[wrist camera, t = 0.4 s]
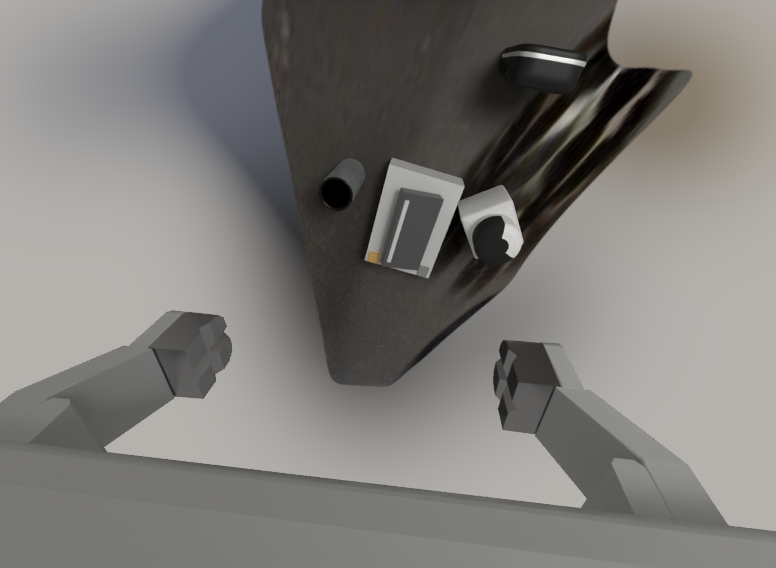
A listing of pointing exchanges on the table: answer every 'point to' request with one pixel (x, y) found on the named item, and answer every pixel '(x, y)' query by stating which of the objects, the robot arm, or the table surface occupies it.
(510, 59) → the battery charger
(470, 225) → the medicine bottle
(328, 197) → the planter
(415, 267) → the dark gray slim case
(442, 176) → the panel
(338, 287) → the table surface
